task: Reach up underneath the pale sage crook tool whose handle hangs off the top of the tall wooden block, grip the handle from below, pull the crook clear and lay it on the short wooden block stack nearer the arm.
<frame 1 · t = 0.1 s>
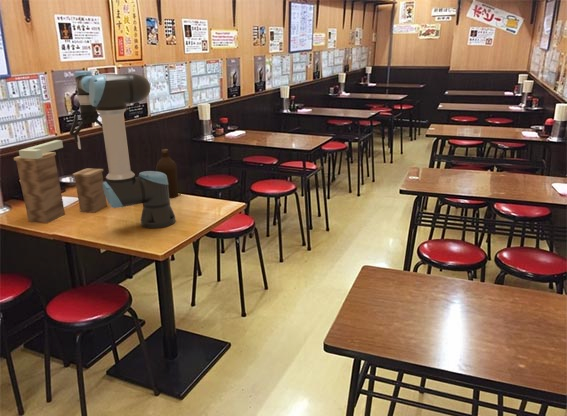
hand: (94, 147, 230), 28 cm above the table, tool pointing down, fingers open, 13 cm apart
olive oil: (169, 196, 245), on the table
crook: (42, 152, 209), point 30 cm above the table, touching tall wooden block
tall wooden block: (47, 217, 214), on the table
short wooden block stack: (93, 208, 226), on the table
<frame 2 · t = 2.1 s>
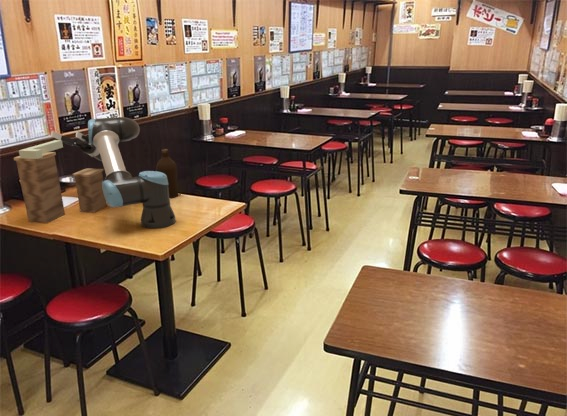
hand: (64, 133, 222), 36 cm above the table, tool pointing upward, fingers open, 13 cm apart
nothing on the table moved.
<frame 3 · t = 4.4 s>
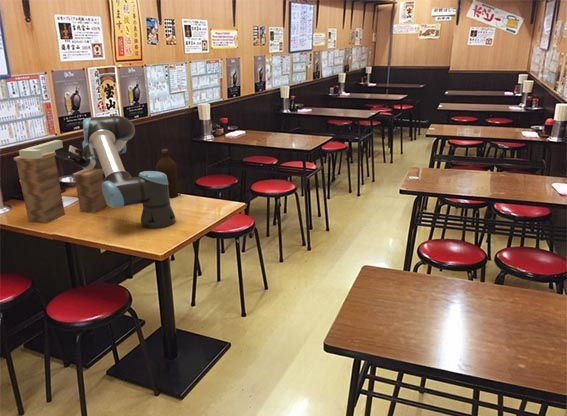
hand: (57, 147, 219), 30 cm above the table, tool pointing upward, fingers open, 13 cm apart
nothing on the table moved.
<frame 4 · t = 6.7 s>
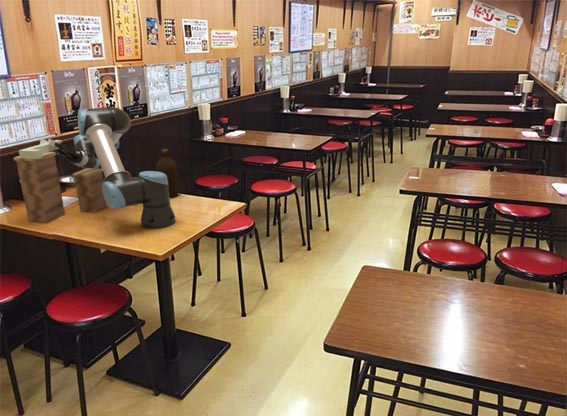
hand: (45, 141, 210), 35 cm above the table, tool pointing upward, fingers closed on crook, 3 cm apart
crook: (42, 152, 209), point 30 cm above the table, touching gripper, tall wooden block
everything else where it was.
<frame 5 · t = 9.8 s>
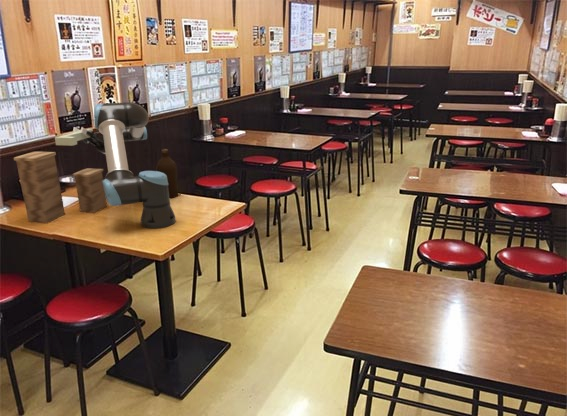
hand: (77, 129, 218), 38 cm above the table, tool pointing upward, fingers closed on crook, 3 cm apart
crook: (75, 140, 217), point 34 cm above the table, touching gripper
everything else where it was.
when the fingers open (25 cm above the table, at t = 13.1 s): crook drops 1 cm, resting on short wooden block stack.
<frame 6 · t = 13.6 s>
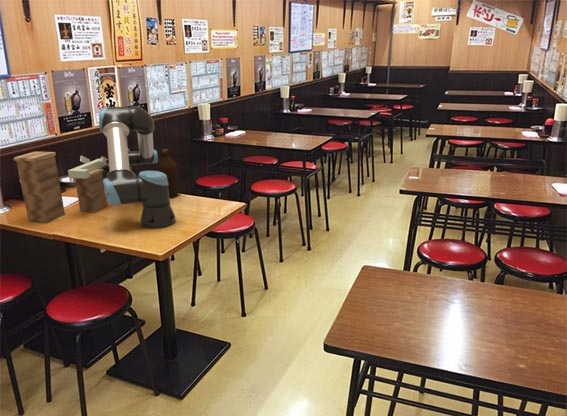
hand: (91, 158, 222), 24 cm above the table, tool pointing upward, fingers open, 10 cm apart
crook: (88, 171, 220), point 19 cm above the table, touching short wooden block stack
everything else where it was.
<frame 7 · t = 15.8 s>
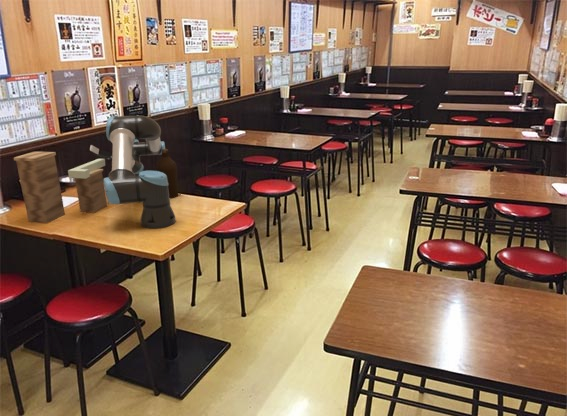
hand: (102, 147, 231), 27 cm above the table, tool pointing upward, fingers open, 13 cm apart
nothing on the table moved.
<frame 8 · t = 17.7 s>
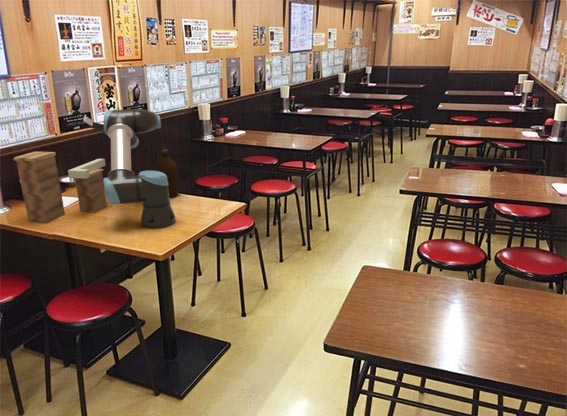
hand: (96, 118, 228), 42 cm above the table, tool pointing upward, fingers open, 13 cm apart
nothing on the table moved.
at the end: crook inside the target area on the short wooden block stack (0.1 cm from its centre), point 19.0 cm above the short wooden block stack's base; crook touching short wooden block stack; the gripper is holding nothing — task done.
